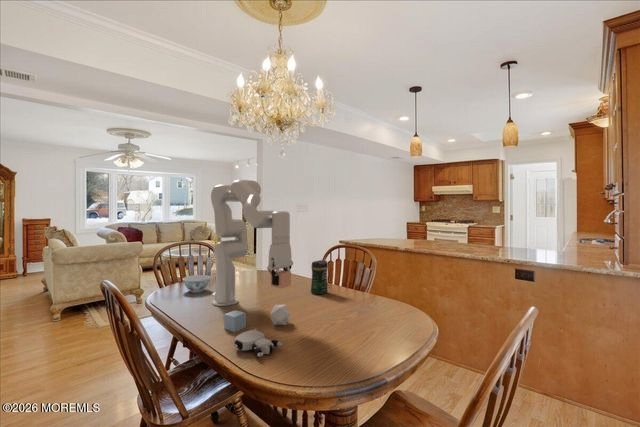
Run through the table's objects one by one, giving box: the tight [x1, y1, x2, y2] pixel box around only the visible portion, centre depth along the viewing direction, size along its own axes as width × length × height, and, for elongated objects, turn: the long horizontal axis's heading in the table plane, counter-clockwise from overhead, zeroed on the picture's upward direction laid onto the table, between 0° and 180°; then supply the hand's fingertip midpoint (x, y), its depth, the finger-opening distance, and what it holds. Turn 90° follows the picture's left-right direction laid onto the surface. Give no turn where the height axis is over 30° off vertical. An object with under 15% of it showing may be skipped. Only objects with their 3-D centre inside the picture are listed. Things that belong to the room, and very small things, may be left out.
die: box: [269, 304, 291, 326], centre depth 134 cm, size 8×9×10 cm
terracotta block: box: [270, 269, 292, 289], centre depth 133 cm, size 6×6×6 cm
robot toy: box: [228, 328, 283, 357], centre depth 110 cm, size 12×4×15 cm
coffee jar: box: [310, 259, 329, 295], centre depth 182 cm, size 10×8×19 cm
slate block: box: [223, 310, 247, 333], centre depth 129 cm, size 6×6×6 cm
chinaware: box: [182, 274, 211, 294], centre depth 183 cm, size 15×15×8 cm
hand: (280, 283), depth 133 cm, fingers closed on terracotta block, 6 cm apart
